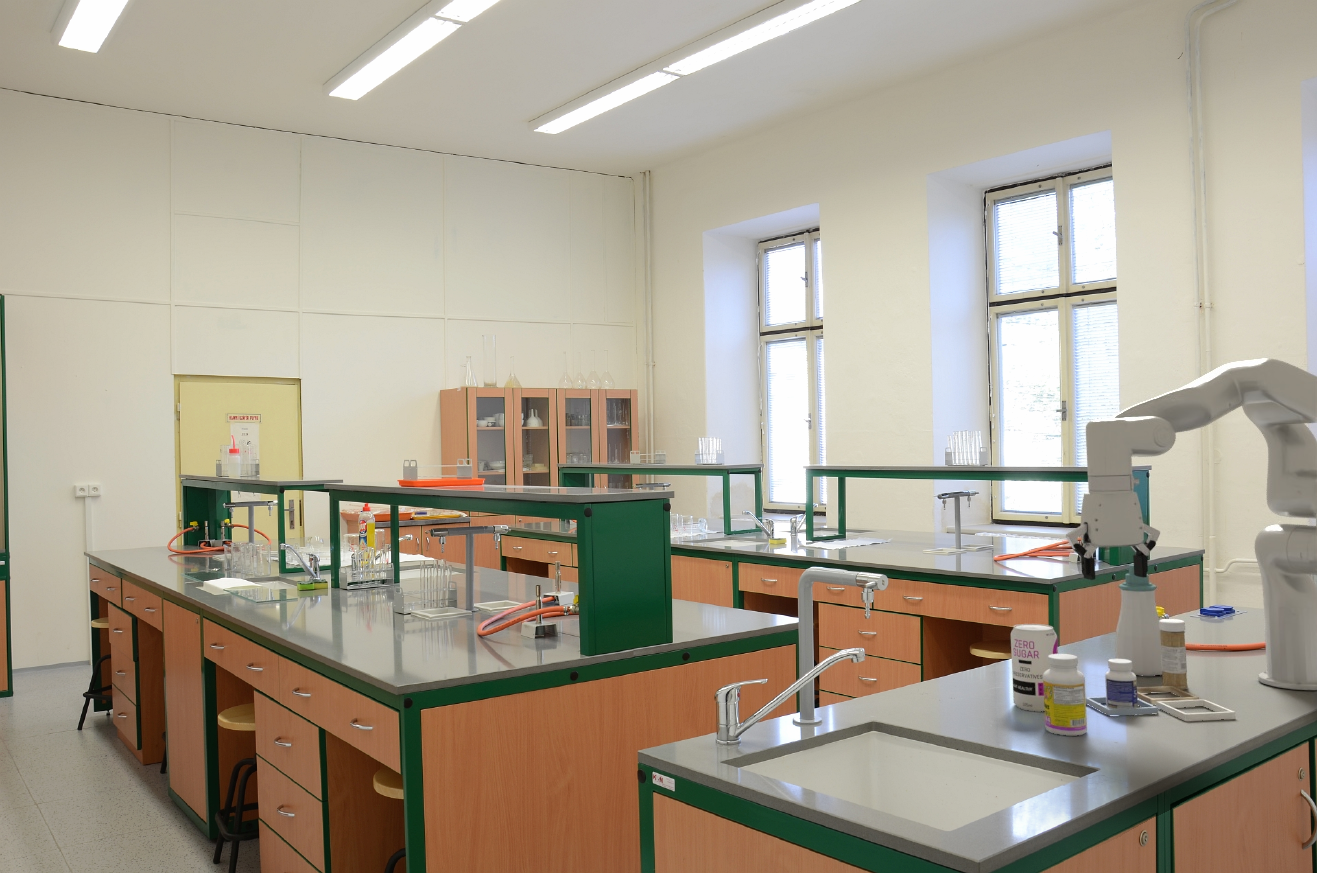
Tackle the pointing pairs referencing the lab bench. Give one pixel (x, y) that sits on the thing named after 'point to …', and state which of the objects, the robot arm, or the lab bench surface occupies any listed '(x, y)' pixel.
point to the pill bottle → (1121, 685)
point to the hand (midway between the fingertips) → (1115, 577)
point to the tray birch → (1171, 689)
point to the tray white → (1217, 715)
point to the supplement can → (1031, 663)
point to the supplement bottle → (1064, 696)
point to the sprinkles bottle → (1173, 653)
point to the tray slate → (1125, 711)
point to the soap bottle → (1139, 626)
